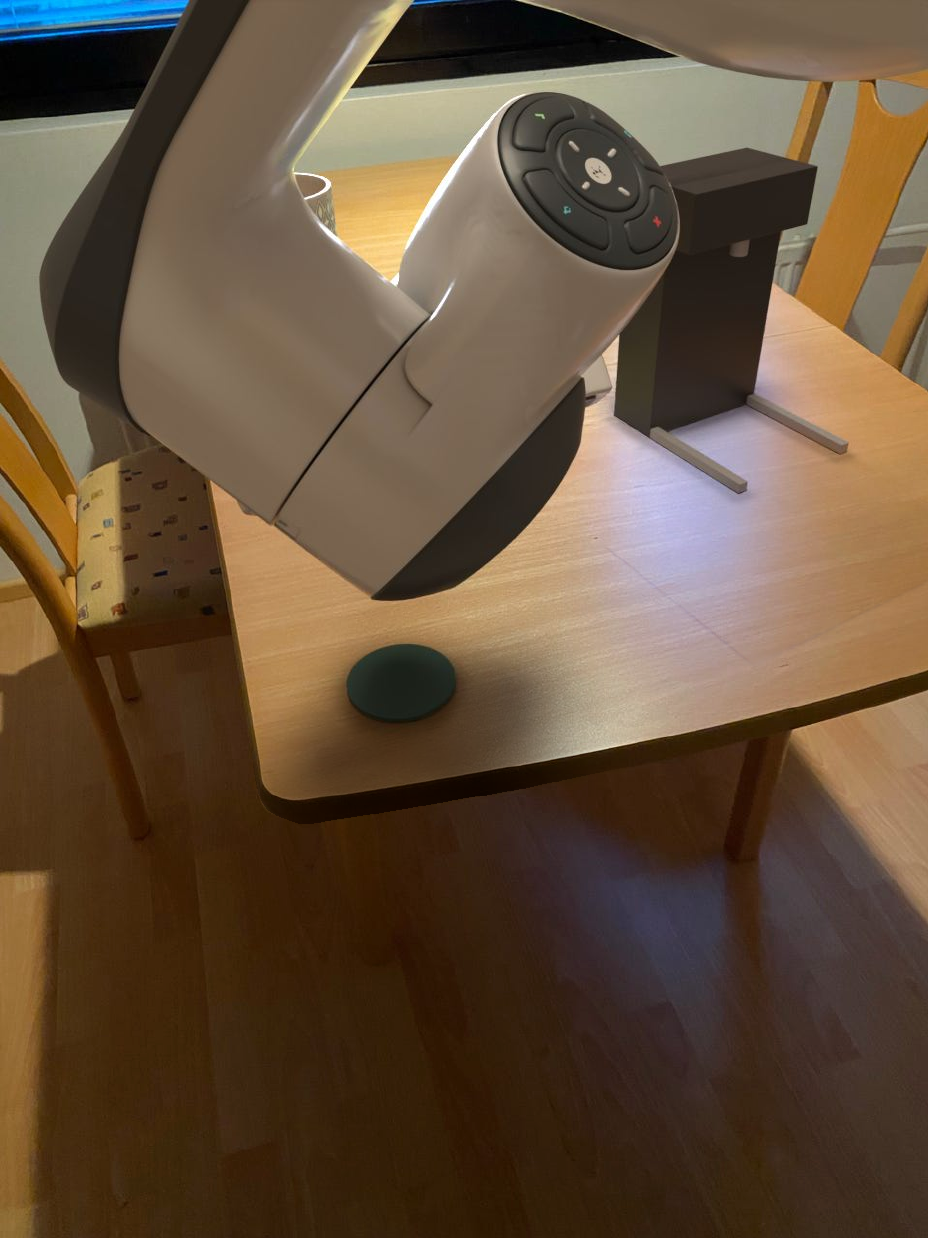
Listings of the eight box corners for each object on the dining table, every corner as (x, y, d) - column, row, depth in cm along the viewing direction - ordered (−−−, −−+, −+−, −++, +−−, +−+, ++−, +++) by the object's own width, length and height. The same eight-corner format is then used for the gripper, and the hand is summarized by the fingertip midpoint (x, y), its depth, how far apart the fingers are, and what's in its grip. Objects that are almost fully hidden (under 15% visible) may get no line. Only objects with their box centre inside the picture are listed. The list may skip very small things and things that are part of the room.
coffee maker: (847, 451, 91) (911, 190, 76) (738, 493, 86) (783, 223, 71) (714, 381, 104) (746, 146, 89) (613, 414, 99) (629, 172, 84)
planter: (327, 255, 143) (315, 166, 135) (355, 290, 131) (344, 194, 123) (220, 273, 139) (201, 182, 131) (239, 310, 127) (220, 212, 119)
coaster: (476, 695, 67) (476, 691, 66) (375, 738, 64) (375, 734, 64) (424, 634, 72) (423, 630, 72) (329, 672, 69) (329, 668, 69)
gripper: (268, 499, 41) (237, 569, 54) (639, 382, 48) (534, 468, 61) (214, 367, 41) (196, 469, 54) (592, 272, 48) (497, 381, 61)
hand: (378, 468), depth 58 cm, fingers closed on beverage can, 6 cm apart
